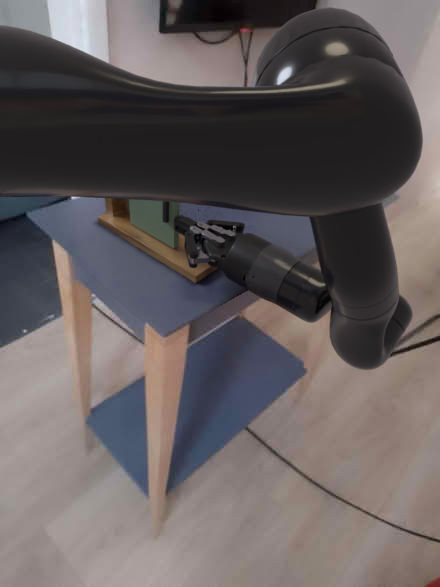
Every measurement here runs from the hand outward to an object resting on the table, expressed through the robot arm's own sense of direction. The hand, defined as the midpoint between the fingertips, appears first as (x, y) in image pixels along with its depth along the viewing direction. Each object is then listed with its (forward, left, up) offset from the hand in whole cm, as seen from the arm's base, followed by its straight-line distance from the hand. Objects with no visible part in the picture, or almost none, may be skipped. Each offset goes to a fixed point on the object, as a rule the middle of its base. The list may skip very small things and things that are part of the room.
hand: (176, 221), depth 63 cm
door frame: (-2, +4, -7) cm, 8 cm away
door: (-3, +5, -5) cm, 7 cm away
